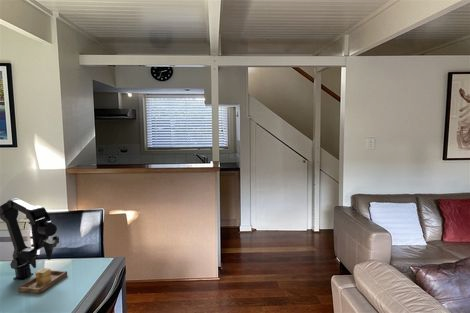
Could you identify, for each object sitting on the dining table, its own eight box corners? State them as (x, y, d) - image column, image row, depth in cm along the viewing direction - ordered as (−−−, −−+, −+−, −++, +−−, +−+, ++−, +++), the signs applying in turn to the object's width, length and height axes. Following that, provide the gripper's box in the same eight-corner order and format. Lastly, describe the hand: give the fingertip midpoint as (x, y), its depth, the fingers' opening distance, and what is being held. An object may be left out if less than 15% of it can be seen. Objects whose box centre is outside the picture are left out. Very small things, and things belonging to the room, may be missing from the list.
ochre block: (36, 284, 160) (35, 272, 159) (43, 279, 164) (42, 268, 163) (44, 284, 159) (43, 273, 158) (51, 280, 163) (50, 268, 162)
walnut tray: (18, 292, 154) (18, 287, 153) (47, 274, 171) (47, 269, 171) (40, 294, 151) (39, 289, 151) (67, 275, 169) (67, 271, 169)
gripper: (37, 240, 148) (41, 273, 149) (66, 227, 166) (69, 256, 167) (17, 239, 150) (21, 272, 152) (47, 226, 168) (50, 255, 170)
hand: (42, 263), depth 160 cm, fingers open, 9 cm apart
